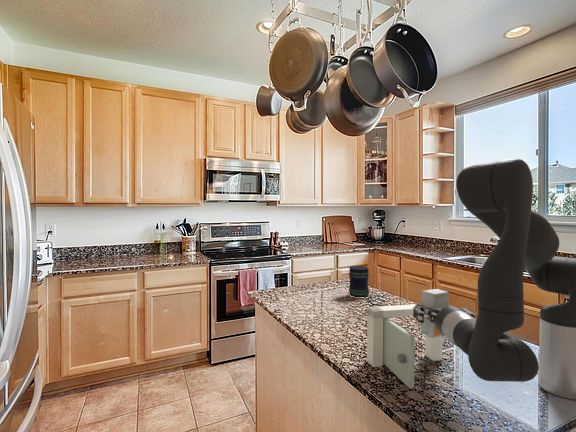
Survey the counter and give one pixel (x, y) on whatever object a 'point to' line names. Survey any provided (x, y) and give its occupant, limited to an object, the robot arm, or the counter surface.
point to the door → (399, 351)
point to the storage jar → (358, 281)
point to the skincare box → (434, 300)
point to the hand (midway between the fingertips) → (431, 306)
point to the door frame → (376, 333)
